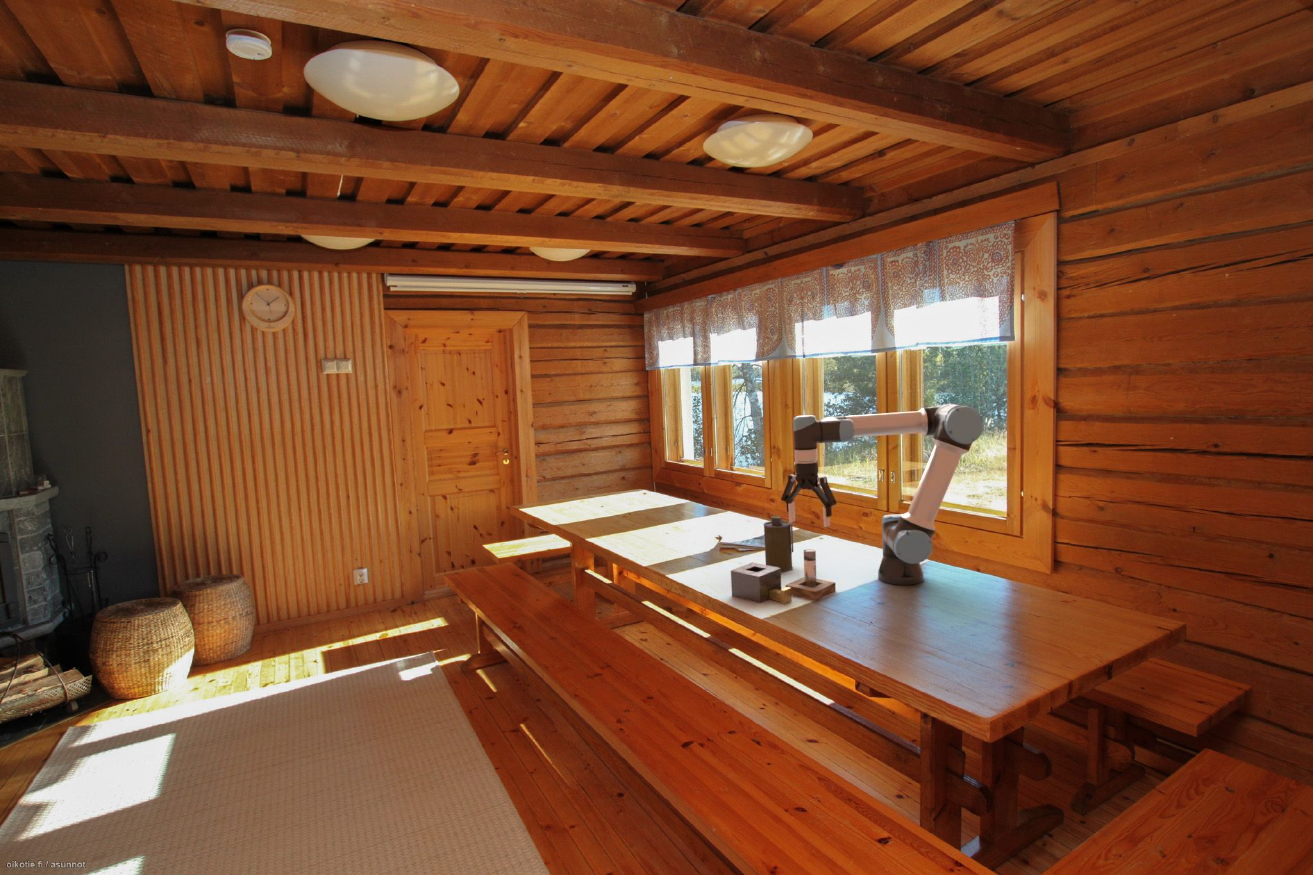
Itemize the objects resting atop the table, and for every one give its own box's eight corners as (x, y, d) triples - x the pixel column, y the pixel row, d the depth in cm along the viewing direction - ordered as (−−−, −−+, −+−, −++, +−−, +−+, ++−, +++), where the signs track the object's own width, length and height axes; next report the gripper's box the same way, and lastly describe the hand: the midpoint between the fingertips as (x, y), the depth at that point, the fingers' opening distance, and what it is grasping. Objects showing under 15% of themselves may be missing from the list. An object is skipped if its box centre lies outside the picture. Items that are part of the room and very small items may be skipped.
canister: (761, 570, 260) (759, 519, 258) (770, 563, 269) (768, 513, 267) (789, 573, 254) (787, 520, 253) (797, 565, 264) (795, 515, 262)
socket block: (781, 593, 232) (780, 568, 231) (760, 603, 224) (759, 576, 223) (753, 587, 241) (752, 562, 240) (731, 596, 232) (730, 570, 232)
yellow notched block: (791, 600, 224) (791, 587, 224) (784, 604, 222) (784, 590, 221) (762, 593, 233) (761, 581, 233) (755, 596, 230) (754, 584, 230)
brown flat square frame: (835, 591, 232) (835, 582, 232) (816, 600, 224) (815, 591, 223) (805, 584, 240) (805, 576, 240) (785, 593, 232) (785, 585, 232)
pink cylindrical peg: (819, 590, 232) (817, 550, 231) (812, 593, 229) (811, 552, 228) (809, 588, 235) (807, 548, 234) (802, 591, 232) (801, 550, 231)
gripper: (845, 461, 221) (848, 525, 223) (782, 458, 239) (785, 517, 241) (833, 465, 216) (836, 530, 218) (769, 461, 234) (772, 522, 236)
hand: (809, 524), depth 230 cm, fingers open, 13 cm apart
